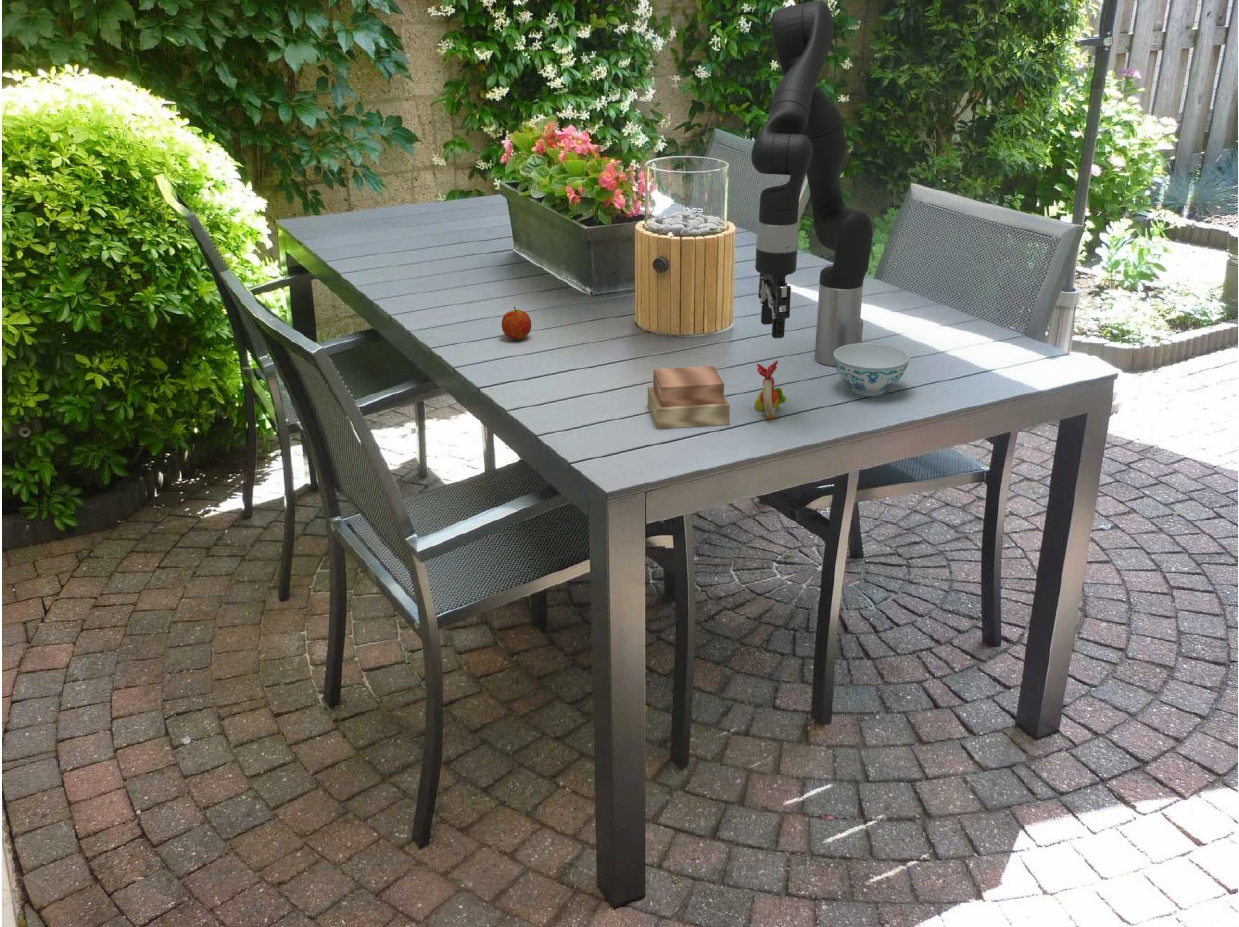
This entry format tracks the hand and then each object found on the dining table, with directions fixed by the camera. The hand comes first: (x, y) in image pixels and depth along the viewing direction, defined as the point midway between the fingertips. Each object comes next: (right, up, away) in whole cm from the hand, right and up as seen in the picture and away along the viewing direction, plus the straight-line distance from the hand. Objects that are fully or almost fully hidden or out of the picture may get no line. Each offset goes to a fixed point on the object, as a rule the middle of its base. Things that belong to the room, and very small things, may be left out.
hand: (772, 330), depth 211 cm
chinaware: (+22, -10, +18) cm, 30 cm away
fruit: (-53, +4, +51) cm, 73 cm away
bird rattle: (0, -16, +7) cm, 17 cm away
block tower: (-16, -16, +7) cm, 23 cm away
